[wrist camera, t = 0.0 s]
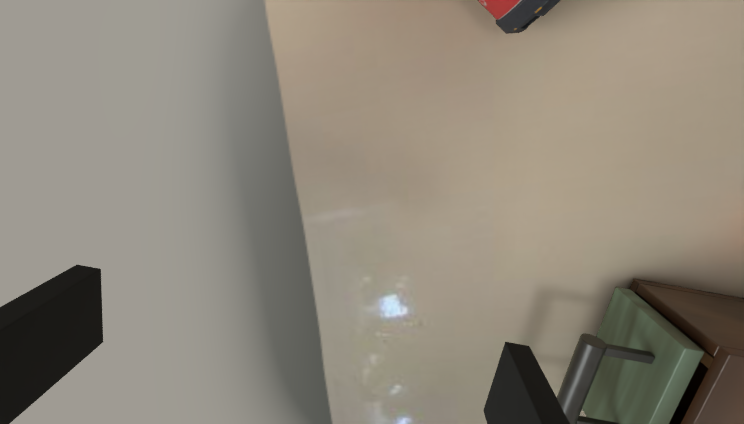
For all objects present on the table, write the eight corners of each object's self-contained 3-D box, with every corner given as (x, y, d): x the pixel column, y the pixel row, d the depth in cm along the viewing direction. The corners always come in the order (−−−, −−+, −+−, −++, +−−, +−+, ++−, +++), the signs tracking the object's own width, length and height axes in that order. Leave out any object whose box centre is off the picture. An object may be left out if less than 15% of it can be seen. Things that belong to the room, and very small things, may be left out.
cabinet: (585, 395, 35) (653, 502, 26) (633, 278, 32) (730, 354, 23) (736, 422, 35) (856, 538, 26) (800, 308, 32) (964, 396, 23)
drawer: (518, 384, 34) (552, 465, 27) (555, 275, 31) (606, 334, 24) (716, 419, 34) (806, 511, 27) (772, 314, 31) (891, 385, 24)
